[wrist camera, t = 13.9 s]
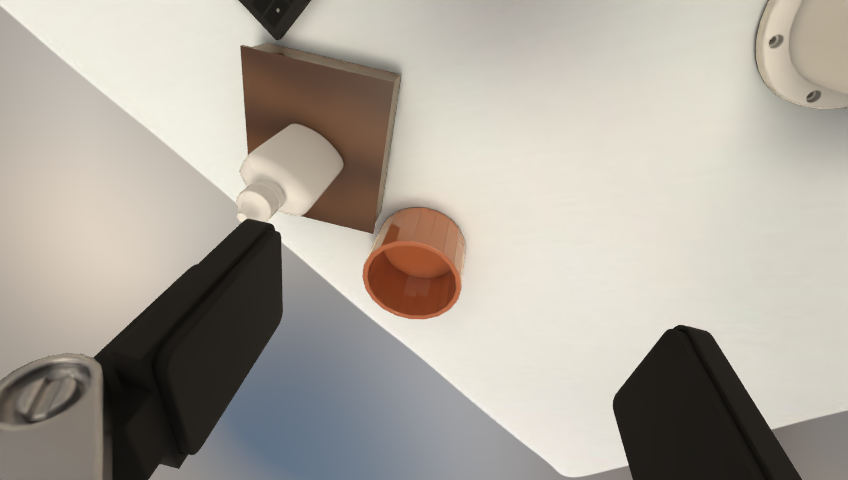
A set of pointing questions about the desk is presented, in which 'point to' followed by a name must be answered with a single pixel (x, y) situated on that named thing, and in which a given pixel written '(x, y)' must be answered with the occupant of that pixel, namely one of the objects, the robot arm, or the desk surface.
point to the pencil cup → (416, 264)
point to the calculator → (276, 14)
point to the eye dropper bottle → (287, 174)
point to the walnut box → (326, 121)
